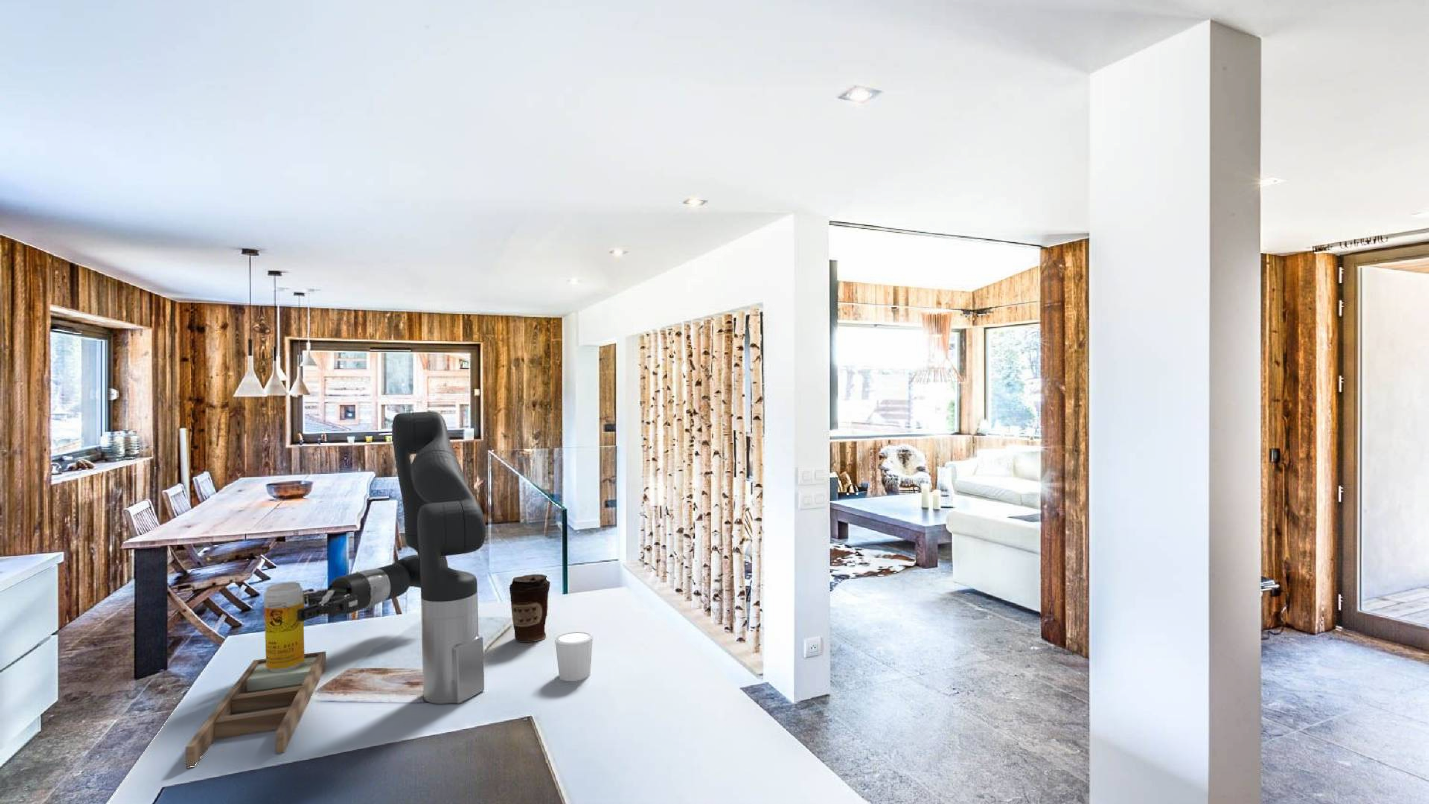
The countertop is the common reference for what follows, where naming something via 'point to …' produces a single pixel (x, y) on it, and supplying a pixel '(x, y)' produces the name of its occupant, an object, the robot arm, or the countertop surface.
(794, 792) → the countertop surface
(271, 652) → the beer can
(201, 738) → the brown wooden flat frame
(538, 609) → the coffee cup
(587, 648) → the white cup
